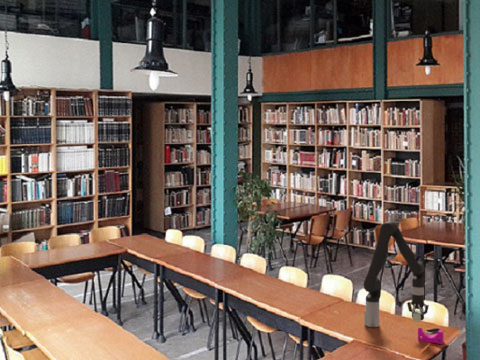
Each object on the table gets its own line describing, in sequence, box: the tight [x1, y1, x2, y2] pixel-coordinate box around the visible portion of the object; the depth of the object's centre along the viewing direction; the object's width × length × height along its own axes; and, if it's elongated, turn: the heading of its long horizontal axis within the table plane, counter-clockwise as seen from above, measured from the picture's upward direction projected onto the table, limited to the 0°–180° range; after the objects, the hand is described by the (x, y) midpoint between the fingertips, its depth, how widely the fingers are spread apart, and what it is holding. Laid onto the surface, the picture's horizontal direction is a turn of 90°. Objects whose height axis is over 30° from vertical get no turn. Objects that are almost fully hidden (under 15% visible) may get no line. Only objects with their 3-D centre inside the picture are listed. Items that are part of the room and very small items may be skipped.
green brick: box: [412, 309, 422, 323], centre depth 356 cm, size 4×9×5 cm, turn 151°
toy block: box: [417, 327, 445, 345], centre depth 350 cm, size 15×6×8 cm, turn 64°
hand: (417, 319), depth 356 cm, fingers closed on green brick, 5 cm apart
